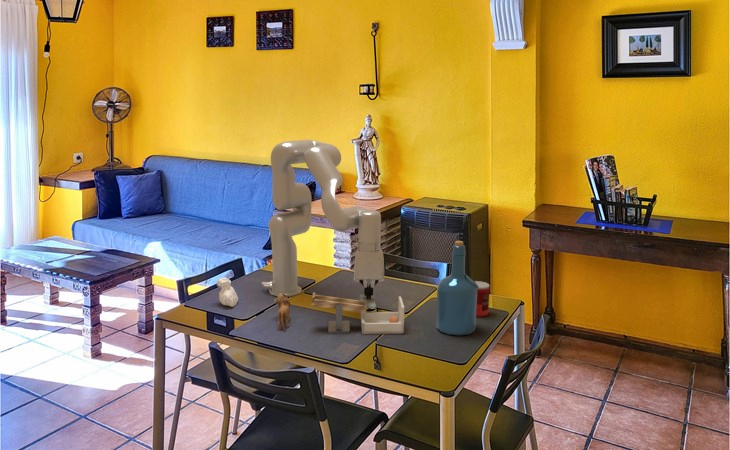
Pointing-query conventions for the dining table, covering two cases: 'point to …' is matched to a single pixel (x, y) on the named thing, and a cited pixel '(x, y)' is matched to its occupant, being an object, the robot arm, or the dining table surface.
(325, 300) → the lever
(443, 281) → the wine bottle
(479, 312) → the canned food
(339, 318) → the fulcrum
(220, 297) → the duck figurine
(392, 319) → the ball
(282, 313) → the lion figurine
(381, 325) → the bin
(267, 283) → the robot arm
